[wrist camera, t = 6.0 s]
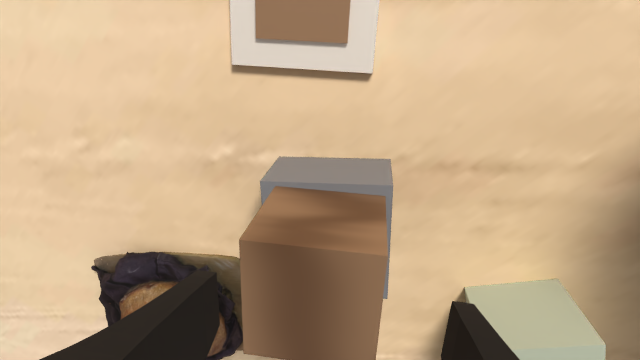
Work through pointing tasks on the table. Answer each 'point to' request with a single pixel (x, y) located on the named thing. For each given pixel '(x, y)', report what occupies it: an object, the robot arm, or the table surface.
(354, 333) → the walnut block
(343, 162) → the base block
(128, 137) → the table surface
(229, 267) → the two-tone domed part
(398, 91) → the table surface
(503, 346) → the robot arm
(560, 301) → the sage block
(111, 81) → the table surface
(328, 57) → the tile
